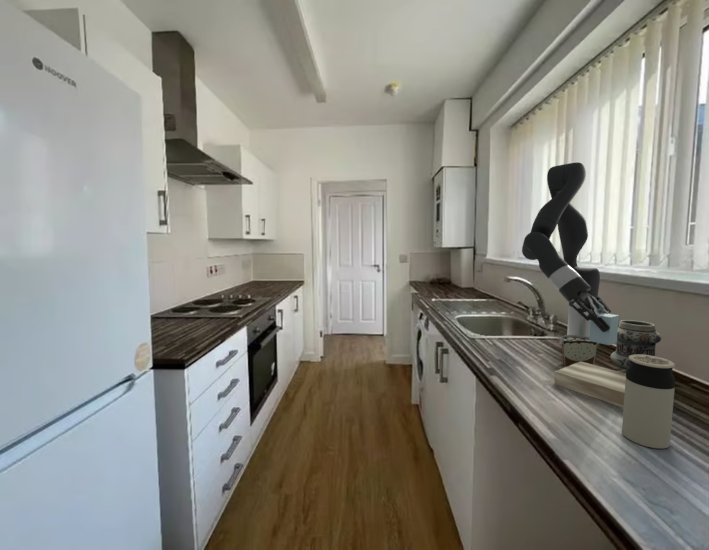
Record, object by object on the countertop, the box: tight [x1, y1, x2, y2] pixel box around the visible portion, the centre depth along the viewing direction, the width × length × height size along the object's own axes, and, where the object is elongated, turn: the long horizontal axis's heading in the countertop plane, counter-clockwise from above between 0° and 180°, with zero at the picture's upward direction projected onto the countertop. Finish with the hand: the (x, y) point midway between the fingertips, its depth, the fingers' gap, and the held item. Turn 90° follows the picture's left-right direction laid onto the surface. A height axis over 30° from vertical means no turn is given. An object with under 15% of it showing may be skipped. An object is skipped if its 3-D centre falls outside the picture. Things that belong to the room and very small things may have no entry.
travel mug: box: [621, 354, 676, 449], centre depth 73 cm, size 8×8×18 cm
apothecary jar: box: [610, 319, 662, 373], centre depth 106 cm, size 12×12×18 cm
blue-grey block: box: [589, 312, 620, 346], centre depth 98 cm, size 5×5×8 cm
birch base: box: [553, 361, 626, 409], centre depth 99 cm, size 16×18×4 cm
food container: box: [559, 334, 600, 368], centre depth 119 cm, size 12×6×10 cm, turn 84°
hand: (611, 328), depth 96 cm, fingers closed on blue-grey block, 5 cm apart
